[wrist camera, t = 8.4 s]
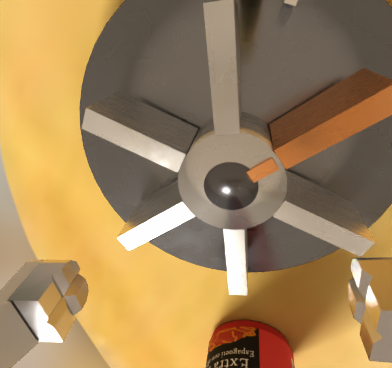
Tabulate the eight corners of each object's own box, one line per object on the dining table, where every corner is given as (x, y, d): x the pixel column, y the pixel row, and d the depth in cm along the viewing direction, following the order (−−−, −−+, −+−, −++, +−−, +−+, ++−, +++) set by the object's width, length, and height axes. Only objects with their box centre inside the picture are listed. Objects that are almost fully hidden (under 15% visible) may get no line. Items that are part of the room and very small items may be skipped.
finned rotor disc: (299, -68, 11) (318, -102, 8) (417, 183, 15) (460, 225, 12) (72, 130, 17) (31, 155, 14) (200, 272, 20) (191, 316, 17)
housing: (497, 52, 13) (595, 66, 10) (290, 284, 23) (298, 337, 19) (137, -121, 12) (88, -182, 9) (76, 194, 22) (39, 231, 18)
